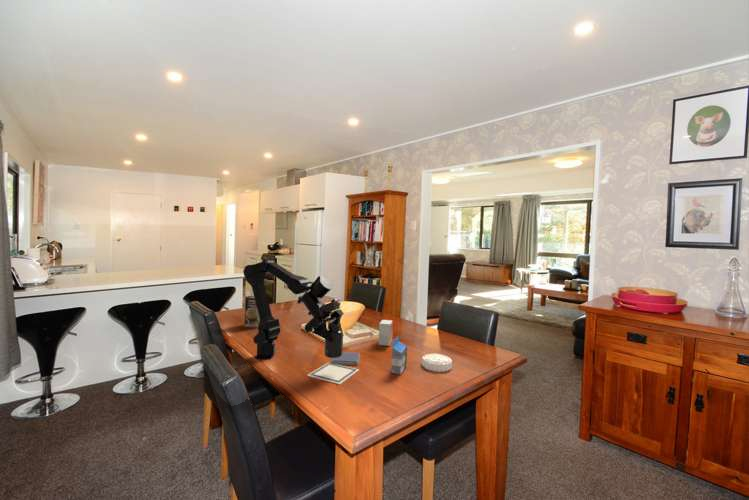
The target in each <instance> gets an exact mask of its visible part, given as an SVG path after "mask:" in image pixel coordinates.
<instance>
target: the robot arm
mask: <svg viewBox="0 0 749 500" xmlns="http://www.w3.org/2000/svg"><path fill="white" fill-rule="evenodd" d="M242 272H243V275H244V279H245V281H246V282H247V283H248V284H249V286H251V289H252V293H253V296H254V298H255V302H256V306H257V310H258V314H259V318H260V321H259V325H258V328H257V329H258V330H257V331H258V332H257V333H256V335H255V336H254V337H253V338H252V339H253V343H254V344H256V355H255V359H272V358H273V357H274V355H275V354H276V344H275V341H276V340H278V337H279V335H280V334H281V328H282V327H281V324H280V320H279V318H274V316H273V314H272V310H271V307H270V302H269V299H268V295H267V292H266V287H265V281H266V274H267V273H269V274H271V275H272V276H274V277H275V278H277V279H279V281H282V282H283V283H284V284H286V287H287V289H288V290H289V291H290V292H291V293H292V294H294V295H300V294H302V295H300V296H298V297H297V298H298V299H297V303H296V304H298V305H300V304H303V305H304V306H305V308H306V309H307V311H308V313H307V315H308V316H312V318H311V319H310V320H309V321H308V322H307V323H306V324H305V325H304V331H305V332H306V334H309V333H312V334H315V335H317V336H319V337H320V338H323V339H324V340H325V339H326V340H328V341H330V342H333V338H332V336H331V335H330V333H329V331H328V327H327V324H328V323H331V322H338V323H341V319H342V316H343V315H344V314H345V313H344V312H343V310H342V309H341V307H340V306H341V302H340V301H339V300H338V298H334V299H331V301H330V302H328V303H326V302H324V301H323V302H322V300H320V299H323V298H324V297H325V296H326V295H327V294H328V293H329V292H330V291H331V290H332V289H333V284H332V282H331V281H330V280H328V279H327V278H325V277H324V276H323V275H319V276H317V278H316V279H315V280H314V281H310V279H309V278H308V277H307V278H306V277H304V276H302V275H297V274H294V273H292V272H290V271H289V270H287V269H286V268H284V267H283V266H281V265H280V264H278V263H277V262H275V260H273V259H267V260H266V259H265V260H263V261H260V262H257V263H255V264H246V265H245V266H244V268H243V271H242ZM340 330H341V331H342V332H344V331H343V329H342V327H341V329H340ZM343 337H344V334H343Z"/></svg>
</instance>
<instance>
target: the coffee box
mask: <svg viewBox="0 0 749 500" xmlns="http://www.w3.org/2000/svg"><path fill="white" fill-rule="evenodd" d="M244 298H245V299H244V301H245V304H244V327H245V328H257V329H258V325H259V321H260V318H259V314H258V310H257V306H256V302H255V298H254V295H250V296H246V297H244Z"/></svg>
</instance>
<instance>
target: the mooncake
mask: <svg viewBox="0 0 749 500" xmlns="http://www.w3.org/2000/svg"><path fill="white" fill-rule="evenodd" d="M421 366H422V368H425V369H426V370H428V371H433V372H439V373H441V372H443V373H444V372H448V371H451V369H452V368H453V367H452V366H453V359H451V357H449V356H447V355H444V354H441V353H434V352H433V353H426V354H423V356H422V357H421Z"/></svg>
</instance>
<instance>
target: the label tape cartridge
mask: <svg viewBox="0 0 749 500" xmlns="http://www.w3.org/2000/svg"><path fill="white" fill-rule="evenodd" d="M399 338H400V336H399V335H397V336H396V337H395V338H394V339H392V342H391V344H392V345H391V346H392V352H391V372H390V373H391V374H394V375H399V376H400V375H401V374H402V373H403V371H404V370H405V369H406V368H407V363H408V362H407V358H408V346H407V345H405V343H402V342H401V341H400V339H399Z"/></svg>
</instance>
